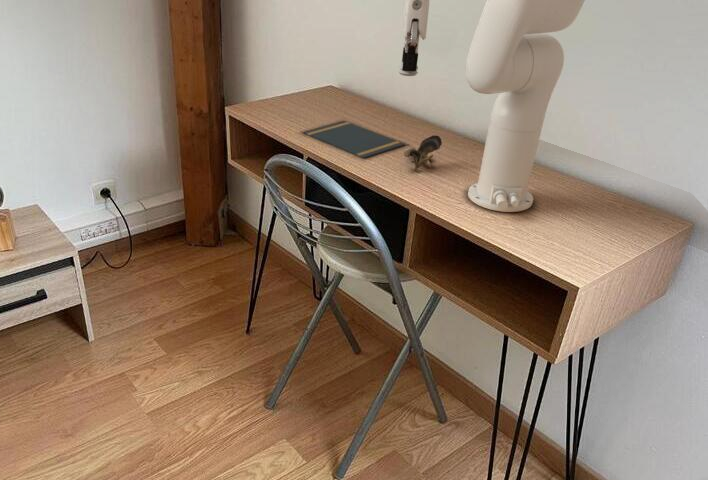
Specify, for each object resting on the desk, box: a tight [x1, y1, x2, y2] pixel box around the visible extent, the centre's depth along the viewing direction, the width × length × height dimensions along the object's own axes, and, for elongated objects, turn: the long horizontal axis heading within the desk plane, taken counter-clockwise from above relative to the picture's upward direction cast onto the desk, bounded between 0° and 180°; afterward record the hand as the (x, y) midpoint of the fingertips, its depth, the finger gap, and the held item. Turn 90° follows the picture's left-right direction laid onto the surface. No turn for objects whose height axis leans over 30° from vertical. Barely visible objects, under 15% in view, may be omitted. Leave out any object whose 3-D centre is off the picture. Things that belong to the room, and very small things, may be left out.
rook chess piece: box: [398, 37, 419, 77], centre depth 146 cm, size 4×4×8 cm
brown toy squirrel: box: [403, 134, 443, 172], centre depth 141 cm, size 8×7×9 cm
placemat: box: [302, 120, 406, 159], centre depth 155 cm, size 21×14×1 cm, turn 41°
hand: (408, 67), depth 148 cm, fingers closed on rook chess piece, 4 cm apart
